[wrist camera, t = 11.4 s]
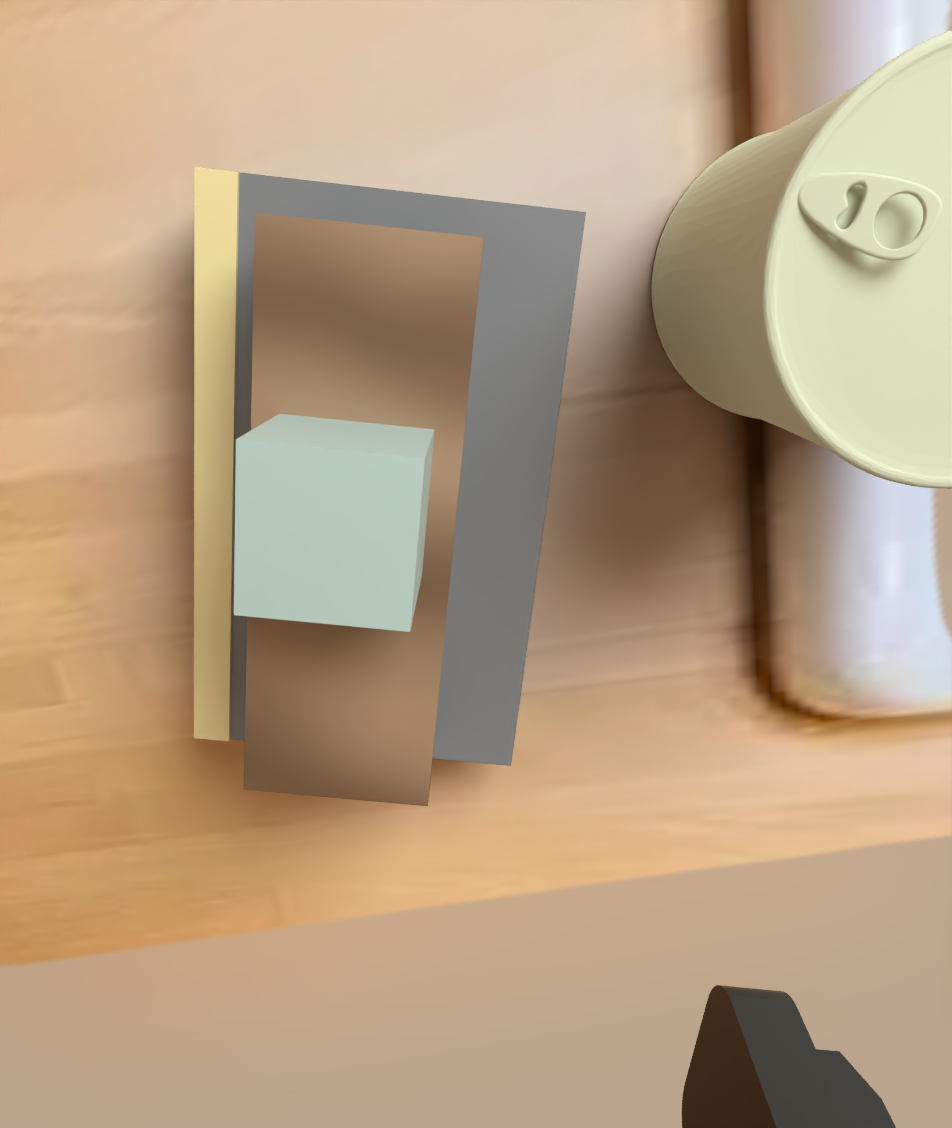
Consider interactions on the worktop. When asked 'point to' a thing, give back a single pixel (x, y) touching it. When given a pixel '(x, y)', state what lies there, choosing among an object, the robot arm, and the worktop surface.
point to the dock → (490, 452)
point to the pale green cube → (331, 521)
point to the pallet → (431, 401)
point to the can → (828, 274)
